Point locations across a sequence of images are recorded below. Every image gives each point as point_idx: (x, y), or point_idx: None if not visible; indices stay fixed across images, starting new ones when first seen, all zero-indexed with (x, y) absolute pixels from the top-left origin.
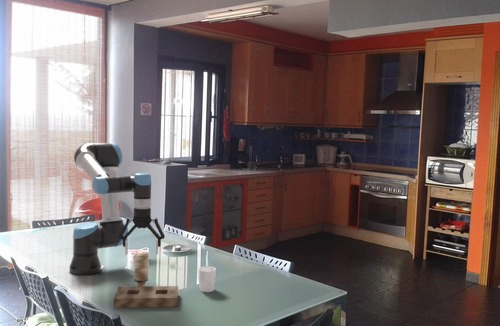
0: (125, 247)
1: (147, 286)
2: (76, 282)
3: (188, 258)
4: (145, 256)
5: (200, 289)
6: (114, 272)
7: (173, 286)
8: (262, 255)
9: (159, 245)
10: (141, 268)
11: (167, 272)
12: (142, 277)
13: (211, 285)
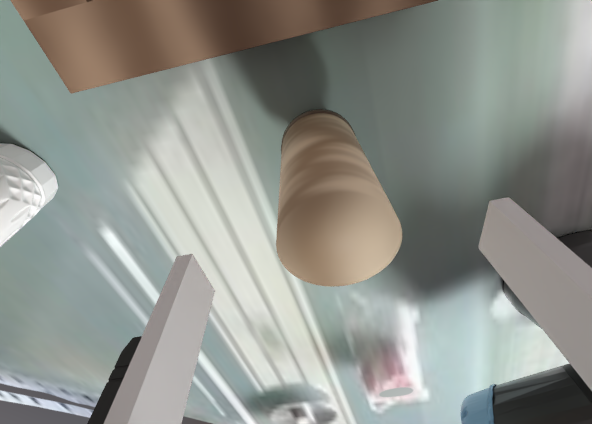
0: (574, 254)
1: (247, 46)
2: None
3: (249, 380)
4: (288, 214)
5: (29, 156)
6: (453, 271)
7: (93, 81)
8: (78, 413)
9: (131, 351)
10: (313, 145)
11: (267, 298)
12: (302, 124)
13: None
